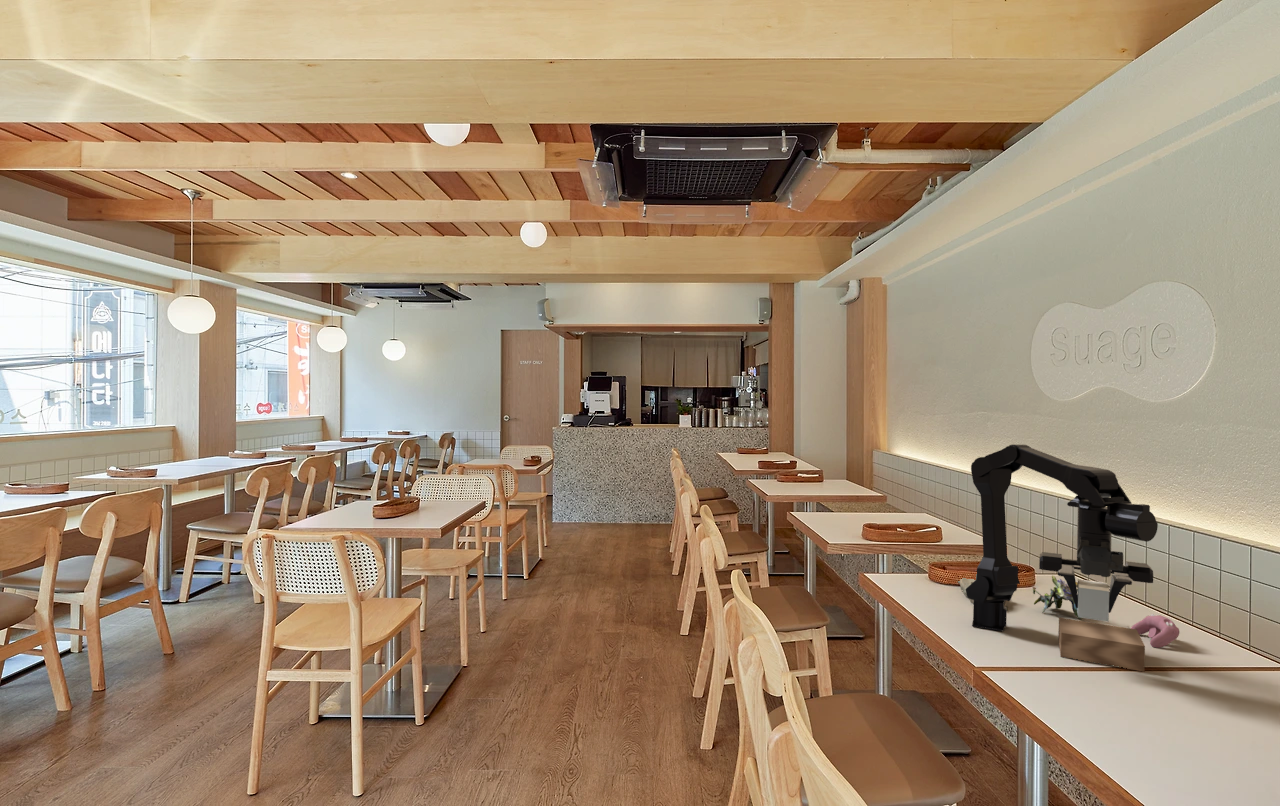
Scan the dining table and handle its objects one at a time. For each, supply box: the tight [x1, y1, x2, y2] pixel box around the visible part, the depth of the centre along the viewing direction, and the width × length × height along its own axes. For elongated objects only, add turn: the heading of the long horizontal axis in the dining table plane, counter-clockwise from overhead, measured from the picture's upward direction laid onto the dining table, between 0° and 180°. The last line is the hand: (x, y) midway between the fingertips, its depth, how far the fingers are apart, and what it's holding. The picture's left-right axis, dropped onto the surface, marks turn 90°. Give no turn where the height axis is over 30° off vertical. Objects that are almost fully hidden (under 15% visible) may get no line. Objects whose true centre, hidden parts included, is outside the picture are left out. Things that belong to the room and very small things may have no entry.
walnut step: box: [1057, 617, 1146, 673], centre depth 142 cm, size 14×12×5 cm
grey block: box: [1077, 579, 1110, 622], centre depth 136 cm, size 5×5×6 cm
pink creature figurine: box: [1130, 613, 1180, 649], centre depth 152 cm, size 10×5×7 cm, turn 169°
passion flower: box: [1032, 575, 1084, 620], centre depth 170 cm, size 11×11×12 cm
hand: (1092, 609), depth 136 cm, fingers closed on grey block, 5 cm apart
